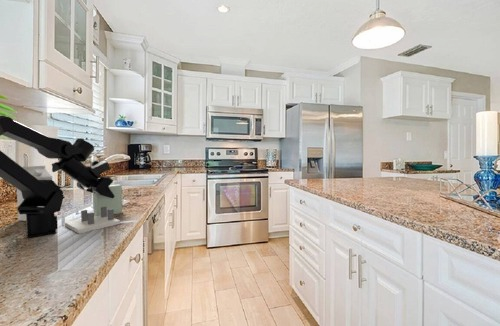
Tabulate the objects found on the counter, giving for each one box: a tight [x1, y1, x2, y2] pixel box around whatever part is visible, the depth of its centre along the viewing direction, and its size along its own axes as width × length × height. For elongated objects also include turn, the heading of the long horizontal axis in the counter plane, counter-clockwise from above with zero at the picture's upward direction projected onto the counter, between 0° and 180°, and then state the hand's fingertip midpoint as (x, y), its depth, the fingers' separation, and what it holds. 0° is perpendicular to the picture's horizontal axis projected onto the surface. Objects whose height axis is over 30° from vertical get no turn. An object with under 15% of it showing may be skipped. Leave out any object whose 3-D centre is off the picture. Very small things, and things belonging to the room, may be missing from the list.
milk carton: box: [16, 165, 53, 222], centre depth 88 cm, size 7×7×19 cm
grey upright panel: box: [92, 183, 123, 216], centre depth 94 cm, size 9×3×11 cm, turn 143°
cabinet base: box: [64, 207, 121, 234], centre depth 81 cm, size 12×12×5 cm
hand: (111, 196), depth 95 cm, fingers closed on grey upright panel, 3 cm apart
